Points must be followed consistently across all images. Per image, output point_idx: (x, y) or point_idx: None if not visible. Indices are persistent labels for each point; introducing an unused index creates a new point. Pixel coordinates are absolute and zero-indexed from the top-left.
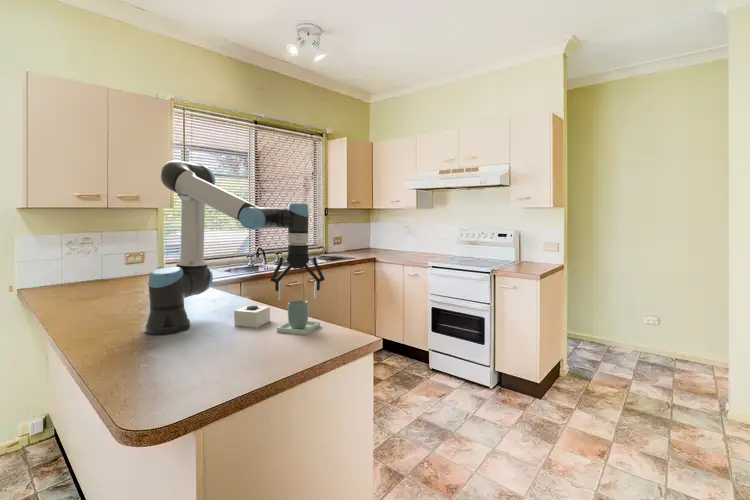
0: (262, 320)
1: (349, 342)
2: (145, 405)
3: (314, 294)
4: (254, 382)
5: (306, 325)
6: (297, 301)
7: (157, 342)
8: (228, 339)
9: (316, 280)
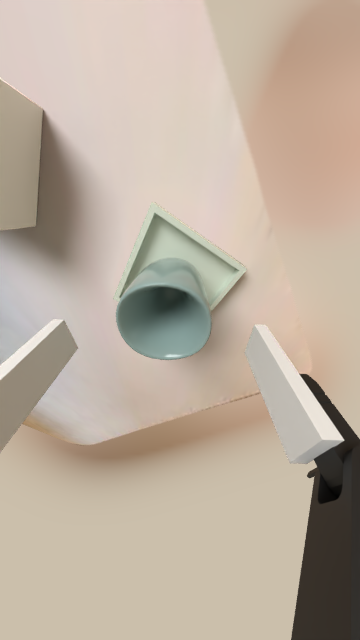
0: (24, 182)
1: None
2: (60, 431)
3: (257, 356)
4: (129, 425)
5: (200, 263)
6: (161, 287)
7: None
8: (22, 315)
9: (317, 490)
